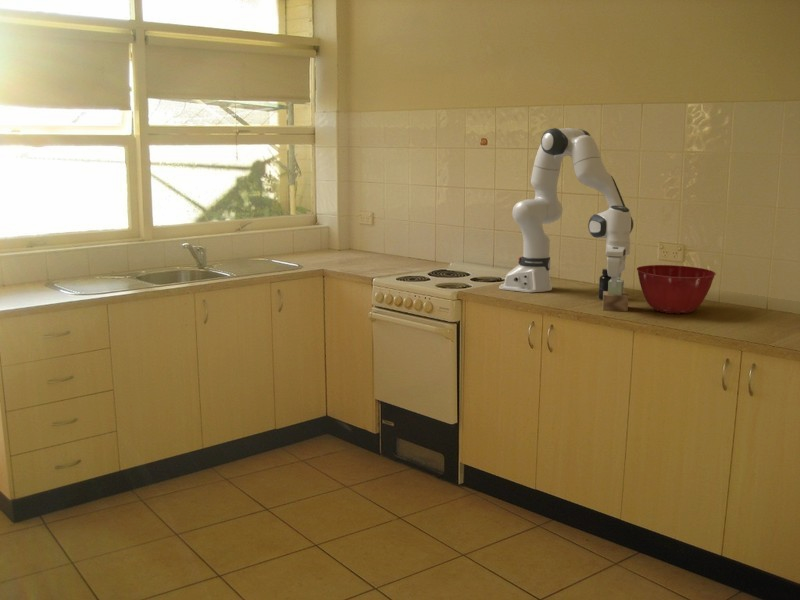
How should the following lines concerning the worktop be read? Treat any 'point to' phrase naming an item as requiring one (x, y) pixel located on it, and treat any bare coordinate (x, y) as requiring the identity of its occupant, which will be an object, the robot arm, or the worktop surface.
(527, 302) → the worktop surface
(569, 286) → the worktop surface
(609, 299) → the pinkish brown block
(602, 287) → the supplement bottle
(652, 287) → the mixing bowl
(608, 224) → the robot arm
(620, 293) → the sage block
